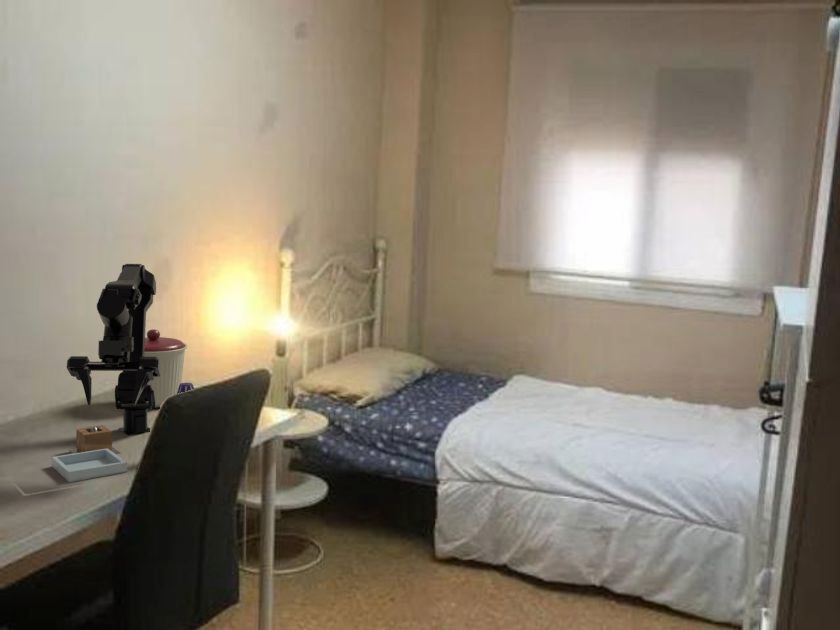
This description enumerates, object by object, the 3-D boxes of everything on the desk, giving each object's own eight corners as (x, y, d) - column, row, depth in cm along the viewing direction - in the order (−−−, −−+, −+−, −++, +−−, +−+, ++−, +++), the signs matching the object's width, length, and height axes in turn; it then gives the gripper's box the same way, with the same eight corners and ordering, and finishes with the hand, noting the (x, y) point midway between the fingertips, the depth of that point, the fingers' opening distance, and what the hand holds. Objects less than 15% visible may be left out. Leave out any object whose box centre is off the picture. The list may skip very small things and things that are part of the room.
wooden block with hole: (73, 447, 205) (73, 426, 204) (99, 443, 209) (99, 422, 208) (85, 456, 199) (84, 435, 198) (112, 452, 202) (111, 431, 202)
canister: (201, 402, 251) (201, 329, 248) (151, 415, 236) (150, 337, 233) (157, 393, 261) (156, 322, 258) (106, 404, 246) (104, 329, 243)
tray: (52, 468, 191) (51, 456, 191) (107, 459, 199) (107, 448, 198) (69, 483, 182) (68, 472, 182) (126, 473, 189) (126, 462, 189)
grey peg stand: (68, 451, 204) (67, 426, 203) (107, 445, 209) (107, 420, 208) (80, 461, 197) (80, 435, 196) (121, 454, 202) (120, 429, 201)
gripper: (65, 321, 185) (57, 392, 179) (157, 322, 189) (153, 392, 182) (75, 341, 196) (68, 409, 189) (162, 342, 199) (158, 408, 193)
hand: (111, 404), depth 188 cm, fingers open, 9 cm apart
